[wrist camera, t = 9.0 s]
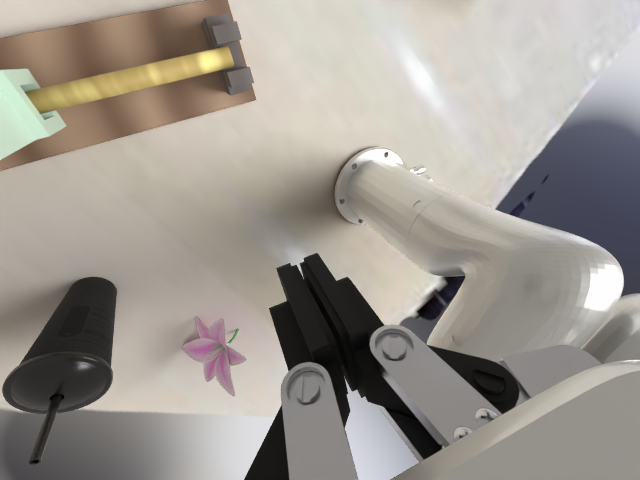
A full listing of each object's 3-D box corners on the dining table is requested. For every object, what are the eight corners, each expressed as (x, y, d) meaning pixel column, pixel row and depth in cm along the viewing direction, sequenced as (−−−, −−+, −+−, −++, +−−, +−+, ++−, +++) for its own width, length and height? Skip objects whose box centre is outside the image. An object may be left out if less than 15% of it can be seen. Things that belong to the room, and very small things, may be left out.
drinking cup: (36, 292, 34) (-79, 486, 18) (94, 256, 35) (29, 415, 19) (93, 324, 39) (39, 500, 23) (142, 292, 39) (122, 442, 24)
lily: (228, 285, 46) (199, 328, 37) (278, 332, 49) (262, 380, 40) (183, 319, 50) (148, 364, 42) (232, 360, 53) (209, 409, 45)
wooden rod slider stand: (224, -1, 28) (239, -21, 21) (253, 98, 33) (273, 107, 27) (-105, 60, 22) (-224, 60, 15) (-6, 169, 27) (-64, 204, 21)
